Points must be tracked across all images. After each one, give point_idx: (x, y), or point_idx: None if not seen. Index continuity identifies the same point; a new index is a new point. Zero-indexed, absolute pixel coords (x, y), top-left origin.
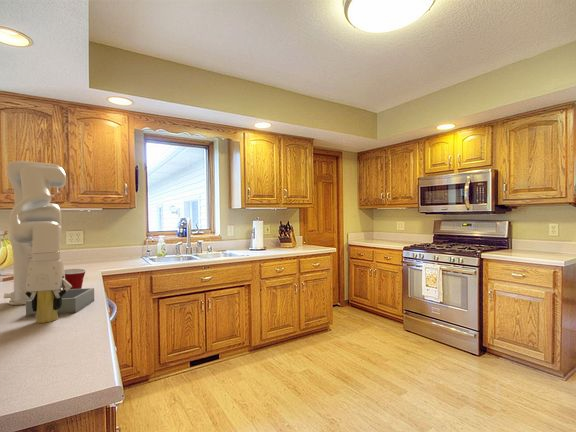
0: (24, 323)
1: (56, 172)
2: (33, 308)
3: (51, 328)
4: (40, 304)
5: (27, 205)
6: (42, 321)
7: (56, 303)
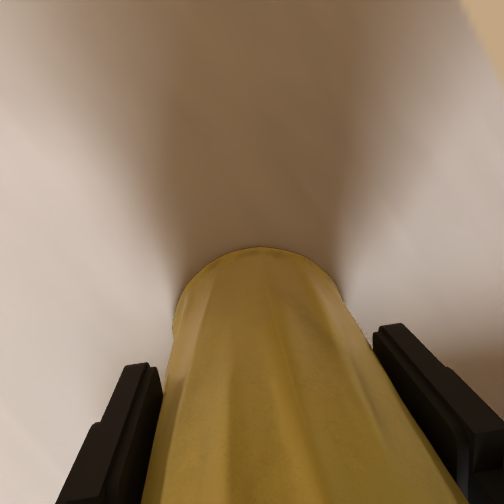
0: (421, 261)
1: None
2: (410, 339)
3: (16, 49)
4: (313, 355)
5: None
6: (248, 251)
7: (102, 430)
